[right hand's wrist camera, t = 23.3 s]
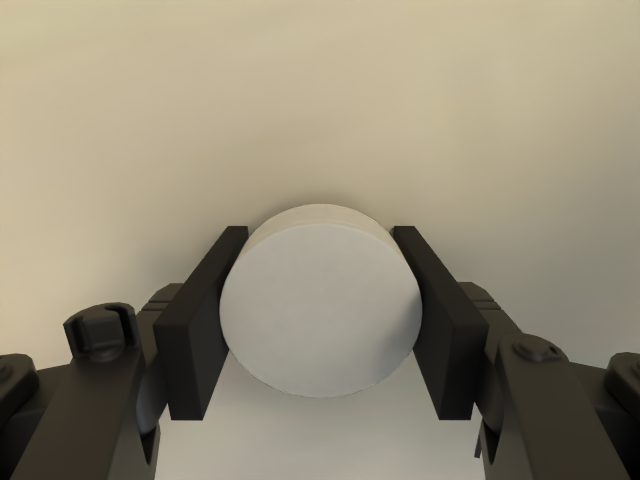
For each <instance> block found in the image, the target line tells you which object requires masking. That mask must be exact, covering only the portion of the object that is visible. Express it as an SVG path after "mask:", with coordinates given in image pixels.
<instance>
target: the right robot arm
mask: <svg viewBox="0 0 640 480" xmlns="http://www.w3.org/2000/svg"><path fill="white" fill-rule="evenodd" d="M248 239H249V238H248V226H228V227H227V228H226V230H225V231H224V232H223V233H222V235H221V236H220V237H219V239H218V240H217V241H216V243H215V244H214V245H213V246H212V248H211V249H210V250H209V252H208V253H207V254H206V256H205V257H204V258H203V259H202V261H201V262H200V263H199V265H198V266H197V267H196V269H195V270H194V271H193V272H192V274H191V275H190V276H189V278H188V279H187V280H186V282H185V283H170V284H169V285H167V286H165V287H164V288H162V289H160V290H159V291H157V292H156V293H155V294H154V295H153V296H152V298H151V299H150V300H149V301H148V303H146V304H145V306H144V307H143V308H142V309H141V311H139V312H138V314H137V315H136V316H135V311H134V308H133V307H132V306H130V305H129V304H125V303H120V302H117V303H105V304H100V305H96V306H92V307H90V308H87V309H84V310H82V311H80V312H78V313H76V314H74V315H73V316H71V317H70V318H69V319H68V320H67V321H66V322H65V323H64V324H63V326H64V330H65V333H66V336H67V339H68V343H69V346H70V349H71V352H72V356H73V358H72V360H71V362H70V364H67V365H62V366H57V367H52V368H47V369H42V370H37V371H36V369H35V366H34V363H33V360H32V358H30V357H29V356H27V355H25V354H8V355H0V480H154V479H155V472H156V464H157V457H158V449H159V442H160V434H161V433H160V426H159V421H158V420H159V419H160V417H161V415H162V413H163V411H164V409H165V407H166V405H167V403H168V406H169V411H170V416H171V420H203V418H204V415H205V412H206V410H207V407H208V405H209V402H210V399H211V397H212V394H213V391H214V389H215V386H216V383H217V381H218V378H219V375H220V373H221V370H222V368H223V365H224V362H225V360H226V357H227V354H228V352H229V347H228V345H227V343H226V340H225V338H224V336H223V332H222V328H221V324H220V315H219V309H220V298H221V293H222V289H223V286H224V284H225V281H226V278H227V277H228V275H229V273H230V271H231V269H232V267H233V265H234V263H235V261H236V260H237V258H238V256H239V254H240V252H241V250H242V248H243V247H244V245H245V243H246V241H247V240H248ZM394 241H395V242H396V244H397V245H398V247H399V249H400V251H401V253H402V255H403V256H404V258H405V260H406V262H407V264H408V265H409V267H410V269H411V271H412V273H413V275H414V277H415V279H416V281H417V284H418V287H419V290H420V293H421V299H422V322H421V327H420V331H419V334H418V338H417V340H416V342H415V344H414V346H413V348H412V349H413V352H414V354H415V357H416V360H417V362H418V365H419V368H420V370H421V373H422V376H423V378H424V381H425V384H426V386H427V389H428V392H429V394H430V397H431V400H432V402H433V405H434V408H435V410H436V413H437V416H438V418H439V420H471V415H472V410H473V405H474V401H475V403H476V405H477V407H478V409H479V411H480V413H481V415H482V421H481V426H480V430H479V435H478V440H477V444H476V449H475V456H474V457H476V458H480V454H481V450H482V456H483V463H484V471H485V478H486V480H640V354H637V353H630V352H624V353H616V354H615V355H614V356H612V357H611V359H610V362H609V364H608V367H607V369H602V368H597V367H592V366H587V365H582V364H577V363H573V362H569V360H568V358H567V356H566V355H565V354H564V353H563V351H562V350H561V349H560V348H558V347H557V346H555V345H554V344H552V343H551V342H549V341H547V340H545V339H542V338H540V337H538V336H534V335H530V334H526V333H523V332H522V331H521V330H520V329H519V328H518V326H517V325H516V324H515V323H514V322H513V321H512V320H511V319H510V317H509V316H508V315H507V314H506V313H505V312H504V311H503V310H501V307H500V306H499V305H498V304H497V303H496V302H494V299H493V298H492V297H491V296H490V295H489V294H488V293H487V291H486V290H484V289H482V288H481V287H479V286H477V285H476V284H474V283H472V282H457V281H456V280H455V279H454V278H453V276H452V275H451V274H450V272H449V271H448V270H447V268H446V267H445V266H444V264H443V263H442V262H441V261H440V259H439V258H438V257H437V255H436V254H435V253H434V251H433V250H432V249H431V248H430V246H429V245H428V244H427V242H426V241H425V240H424V238H423V237H422V236H421V234H420V233H419V232H418V231H417V229H416V228H415V227H414V226H395V228H394Z"/></svg>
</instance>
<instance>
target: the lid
mask: <svg viewBox="0 0 640 480" xmlns="http://www.w3.org/2000/svg"><path fill="white" fill-rule="evenodd" d="M219 315H220V324H221V328H222V332H223V336H224V338H225V340H226V343H227V345H228V347H229V349H230V350H231V352H232V354H233V355H234V357H235V358H236V359H237V361H238V362H239V363H240V364H241V365H242V366H243V367H244V368H245V369H246V370H247V371H248V372H249V373H250V374H251V375H253V376H254V377H255V378H257V379H258V380H260V381H261V382H263V383H265V384H266V385H268V386H270V387H272V388H275V389H277V390H279V391H282V392H285V393H288V394H292V395H297V396H301V397H310V398H331V397H340V396H345V395H350V394H353V393H356V392H359V391H362V390H364V389H367V388H369V387H371V386H373V385H375V384H377V383H378V382H380V381H382V380H383V379H385V378H386V377H387V376H389V375H390V374H391V373H393V372H394V371H395V370H396V369H397V368H398V367H399V366H400V365H401V364H402V362H403V361H404V360H405V359H406V358H407V356H408V355H409V353H410V352H411V350H412V348H413V346H414V344H415V342H416V340H417V338H418V334H419V331H420V327H421V322H422V299H421V293H420V290H419V287H418V284H417V281H416V279H415V277H414V275H413V273H412V271H411V269H410V267H409V265H408V264H407V262H406V260H405V258H404V256H403V255H402V253H401V251H400V249H399V247H398V245H397V244H396V242H395V241H394V239H393V238H392V237H391V235H390V234H389V233H388V232H387V231H386V230H385V229H384V228H383V227H382V226H381V225H380V224H378V223H377V222H376V221H375V220H373V219H372V218H370V217H368V216H367V215H365V214H363V213H361V212H358V211H356V210H354V209H351V208H347V207H343V206H339V205H332V204H310V205H302V206H298V207H294V208H291V209H288V210H286V211H283V212H281V213H279V214H277V215H275V216H273V217H271V218H270V219H268V220H267V221H266V222H264V223H263V224H262V225H261V226H260V227H258V228H257V229H256V230H255V231H254V232H253V234H252V235H251V236H250V237H249V239H248V240H247V241H246V243H245V245H244V247H243V248H242V250H241V252H240V254H239V256H238V258H237V260H236V261H235V263H234V265H233V267H232V269H231V271H230V273H229V275H228V277H227V278H226V281H225V284H224V286H223V289H222V293H221V298H220V309H219Z"/></svg>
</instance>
